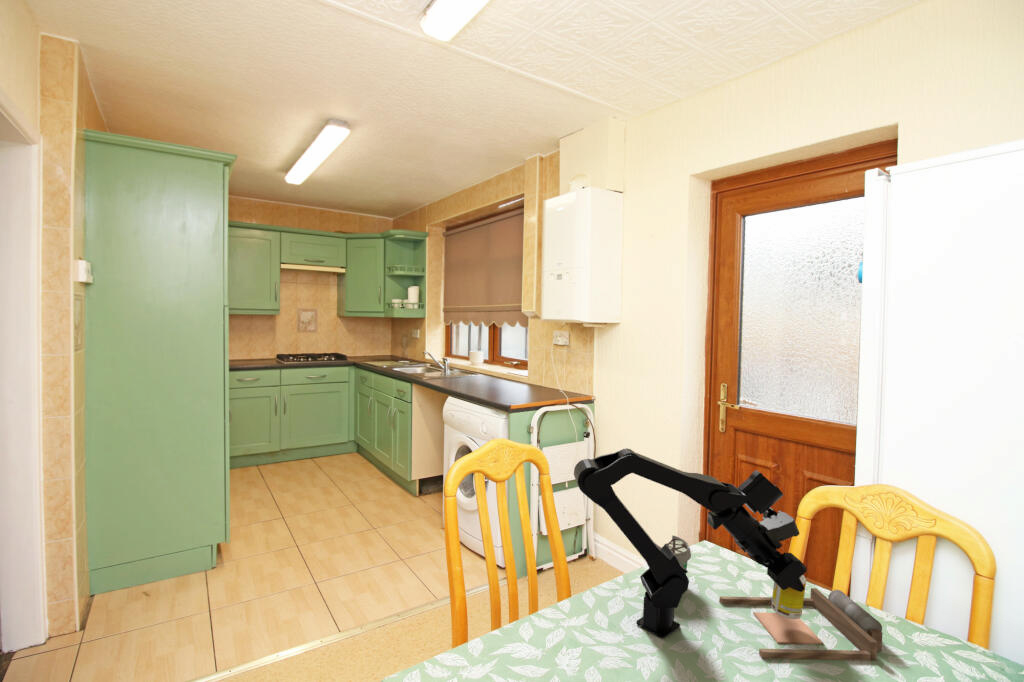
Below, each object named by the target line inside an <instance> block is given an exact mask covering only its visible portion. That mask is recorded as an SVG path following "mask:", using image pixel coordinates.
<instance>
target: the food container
mask: <svg viewBox="0 0 1024 682" xmlns="http://www.w3.org/2000/svg"><path fill="white" fill-rule="evenodd" d="M666 544H667V545H668V547H669V548H670V549H671V551H672V552H673V554H674V555H676V556H677V557H678V558H679V560H680V561H681V563H682V564H683V566H684V567H685V568H686V570H687V571H688V569H687V568H688V561H689V560H690V559H691V558H692V553H691V552H692V551H691V548H690V545H689V544H688V542H687V541H686V540H684V539H683V538H681V537H679V536H676V535H673V534H672V536H671V540H670V541H669V542H668V543H666ZM685 574H686V575H687V573H685Z"/></svg>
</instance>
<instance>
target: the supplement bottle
mask: <svg viewBox="0 0 1024 682" xmlns="http://www.w3.org/2000/svg"><path fill="white" fill-rule="evenodd" d="M800 580H801V582H802V584H803V586H804V588H805V589H804V590H803V591H802V592H799V591H797V590H794V589H792V588H787V589H786V590H782V589H781V588H780V587H779V586H778V585H777V584H776V583H775V582H774V581H773V582H774V583H773V588H772V595H771V596H772V603H771V605H770V606H771V609H772V610H773V612H774V613H777V614H779V615H781V616H783V617H785V618H789V619H799V618H800V619H801V617H802V614H803V609H804V606H803V601H804V598H805V591H806V585H807V579H806V577H805V575H804V574H803V575H802V576H801V577H800Z"/></svg>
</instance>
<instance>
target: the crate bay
mask: <svg viewBox="0 0 1024 682" xmlns="http://www.w3.org/2000/svg"><path fill="white" fill-rule="evenodd" d="M719 603H720V605H743V606H745V605H746V606H748V605H750V606H771V603H772V597H767V596H766V597H763V596H723V595H722V596H719ZM803 607H813V608H814V609H816V611H817V612H819V614H820V615H822V616H823V617H824V618H825V619H826V620H827V621H828V622H829V623H830V624H831V625H832V626H834V628H835V629H836V630H837V631H839V632H840V633H841V634H842V635H843V636H844V637H845V638H846V639H847V640H848V641H849V642H850V643H851V644H852V645H853V646H854V647H856V648H857V650H855V649H854V650H850V649H849V650H848V649H846V650H845V649H802V648H801V649H795V648H794V649H793V648H759V649H758V655H759V657H760V658H761V659H776V660H777V659H779V660H781V659H785V660H786V659H787V660H827V661H828V660H829V661H830V660H831V661H833V660H834V661H835V660H837V661H841V660H842V661H878V652H882V649H883V633H884V632H883V626H882V623H881V622H880V621H878V620H877V619H876V618H875V617H874V616H872V615H871V613H869V612H868V611H867V610H865V609H864V608H863V607H861V605H859V604H858V603H857V602H855V601H854V600H853V599H852V598H851V597H850V596H848V595H847V594H846V593H845V592H844V591H842V590H839V589H834V590H831V592H829V594H828V597H827V596H826V595H825V594H823V593H822V592H821V591H820V590H819V589H818V588H816V587H814V588H812V587H810V597H804V601H803ZM752 614H753V616H754V617H756V619H757V621H759V622H760V624H761V625H762V626H763V627H764V629H765V630H766V631H767V632H768V634H769V635H770V636H771V637H772V639H774V641H775V642H776V643H777V644H780V645H781V644H783V645H785V644H787V645H789V644H790V645H792V644H793V645H824V641H822V640H821V638H820V637H819V636H818V635H816V634H815V633H814V631H813V630H812V629H811V628H810V627H809V626H808V625H807V624H806V623H805V621H803V620H802V619H801V617H800V618H799V619H789V618H785V617H783V616H781V615H779V614H777V613H776V612H753V613H752Z"/></svg>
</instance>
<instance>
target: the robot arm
mask: <svg viewBox="0 0 1024 682" xmlns="http://www.w3.org/2000/svg"><path fill="white" fill-rule="evenodd" d="M630 474H634V475H637V476H638V477H642V478H645V479H646V480H649V481H652V482H654V483H657V484H659V485H662V486H663V487H667V488H670V489H672V490H674V491H676V492H679V493H682V494H683V495H685V496H686V497H688V498H690V499H691V500H693V501H694V502H696V504H698V505H700V506H702V507H703V508H705V509H707V510H708V512H707V514H708V515H707V519H706V522H707V524H708V525H709V526H710V527H711V528H712V529H713V530H717V529H718V528H720V527H721V526H722V527H724V529H725V530H726V531H727V532H728V533H729V534H730V535H731V537H732V538H733V539H734V543H735V544H736V545H737V546H738V548H739V549H741V550H742V551H743V553H745V554H746V553H747V556H748V557H749V559H751V560H752V561H754V562H755V563H757V564H759V565H761V566H762V567H765V568H767V569H766V571H767V572H766V575H768V577H769V578H770V579H771V580H772V581H773V582H775V583H776V584H777V585H778V586H779V587H780V588H781V589H782V590H786V589H787V588H792V589H794V590H797V591H799V592H802V591H803V590H804V589H805V590H806V587H805V588H804V586H803V584H802V582H801V580H800V577H801V576H802V575H803V576H804V574H805V573H807V571H808V568H807V566H806V564H804V563H803V562H802V561H801V559H799V558H798V557H797V556H795V555H794V554H793V553H792V552H783V553H781V552H780V551H779V549H780V548H781V547H782V546H784V545H783V543H781V542H784V541H786V540H788V539H791V538H794V537H797V536H800V531H799V528H798V525H797V523H796V521H795V519H794V518H793V517H792V516H791V515H790V514H788V513H786V512H784V511H781V510H778V512H777V511H776V510H775V509H773V508H772V506H774V505H775V504H776V503H777V502H778V501H779V500H780V499H781V498H783V496H784V493H783V491H781V489H780V488H779V487H778V486H777V485H776V484H774V483H773V482H771V481H770V480H769V479H768V478H767V477H765V476H764V474H763V473H762V472H761V471H758V470H757V469H755V470H754V471H753V472H752V473H750V475H749V476H748V477H747V479H746V480H744V481H743V482H742V483H741V484H740V485H739V486H738V487H737V486H735V485H734V484H732V483H729V482H723V481H720V480H718V479H717V478H716V477H714V476H711V475H708V474H704V473H703V474H702V473H699V472H698V473H697V472H687V471H683V470H680V469H677V468H676V467H673V466H670V465H668V464H665V463H664V462H660V461H658V460H655V459H653V458H650V457H648V456H645V455H643V454H640V453H638V452H635V451H634V450H632V449H631V448H626V447H625V448H622V449H620V450H618V451H615V452H612V453H611V452H610V453H607V454H603V455H599V456H596V457H595V458H592V459H591V458H586V459H585V458H584V459H581V460H579V461H578V462H577V463H576V464H575V466H574V469H573V476H574V479H575V481H576V484H577V486H578V489H579V490H580V491H581V493H583V494H584V495H585V496H586V497H587V498H588V499H590V500H591V502H593V503H594V504H596V506H599V507H600V508H602V509H603V511H604V512H605V513H606V514H607V515H608V516H609V518H610V519H611V520H612V522H613V523H615V525H616V526H617V527H618V529H619V530H620V531H621V533H623V535H624V536H625V537H626V539H627V540H628V541H629V542H630V543H631V544H632V546H633V547H634V548H635V549H636V551H637V552H638V553H639V555H640V556H641V557H642V558H643V560H644V561H645V562H646V565H647V566H648V569H646V570H645V571H644V572H643V573H642V574H641V575H640V581H641V584H642V586H643V588H644V590H645V593H644V597H643V609H642V610H643V613H642V616H641V617H640V618H638V619H637V620H636V625H638V626H640V627H641V628H643V629H645V630H647V631H648V632H650V633H651V634H654V636H657V637H659V638H660V639H665V638H666V637H668V636H669V635H671V634H672V633H674V632H675V631H677V630H678V629H680V627H681V624H680V623H679V622H677V621H676V620H674V619H675V609H677V608H678V606H679V604H680V602H681V599H682V598H683V595H685V593H686V591H687V590H688V588H689V583H690V580H689V578H688V575H687V574H688V573H689V572H688V569H687V570H686V568H685V567H684V566H683V564H682V563H681V561H680V560H679V558H678V557H677V556H676V555H674V554H673V552H672V551H671V549H670V548H669V547H668V545H667V543H665V544H664V545H663V546H662V547H661V546H660V545H659V544H657V543H656V542H655V541H654V540H653V539H652V538H651V536H650V535H649V533H648V532H647V531H646V530H645V529H644V528H643V526H642V525H641V523H639V521H638V520H637V518H635V517H634V515H633V514H632V513H631V512H630V510H629V509H628V508H627V506H626V505H625V504H624V503H623V502H622V501H621V499H620V498H619V497H618V495H617V494H616V492H615V490H614V489H613V487H612V486H614V484H616V483H618V482H620V481H621V480H622V479H624V478H625V477H626V476H628V475H630ZM744 505H745V506H746V507H747V508H748V509H749V511H751V512H752V513H753V514H756V513H759V515H762V518H761V519H762V520H761V521H758V519H756V518H755V517H753V516H752V514H751V513H750V512H749V511H748V510H747V509H746V507H744ZM685 573H686V574H685Z"/></svg>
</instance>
